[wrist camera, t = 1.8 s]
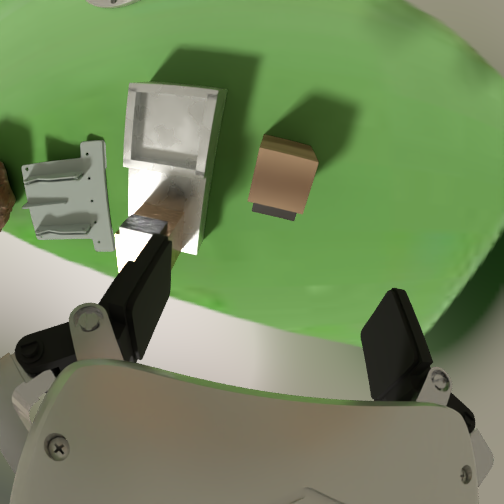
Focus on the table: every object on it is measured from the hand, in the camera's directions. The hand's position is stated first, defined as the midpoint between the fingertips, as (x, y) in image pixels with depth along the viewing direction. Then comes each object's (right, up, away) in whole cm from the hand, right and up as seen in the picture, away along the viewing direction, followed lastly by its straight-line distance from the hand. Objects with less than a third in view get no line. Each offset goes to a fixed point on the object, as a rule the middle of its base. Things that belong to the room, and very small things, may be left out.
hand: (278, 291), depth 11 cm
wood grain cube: (+2, +10, +15) cm, 18 cm away
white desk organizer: (-9, +11, +16) cm, 21 cm away
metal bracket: (-24, +9, +20) cm, 33 cm away
